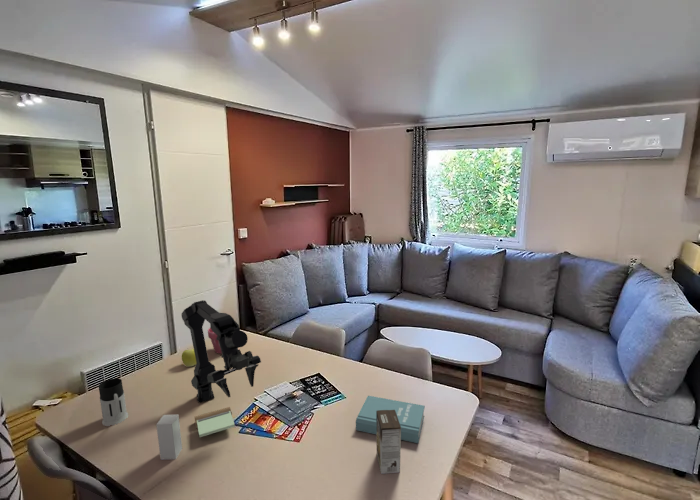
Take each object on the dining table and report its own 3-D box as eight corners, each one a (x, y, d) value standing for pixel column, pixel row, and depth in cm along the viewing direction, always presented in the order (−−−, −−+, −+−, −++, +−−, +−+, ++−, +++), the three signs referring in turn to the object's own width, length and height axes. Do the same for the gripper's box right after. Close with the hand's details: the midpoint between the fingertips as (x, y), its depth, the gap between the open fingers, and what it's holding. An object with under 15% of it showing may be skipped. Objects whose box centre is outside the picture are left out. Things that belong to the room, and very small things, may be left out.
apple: (198, 366, 181) (190, 348, 179) (183, 371, 181) (175, 353, 179) (204, 358, 188) (197, 341, 187) (190, 363, 189) (182, 346, 187)
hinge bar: (195, 422, 140) (194, 416, 139) (230, 412, 146) (229, 406, 145) (196, 428, 136) (195, 422, 136) (232, 418, 142) (231, 412, 142)
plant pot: (204, 355, 195) (202, 332, 192) (218, 343, 208) (216, 322, 206) (229, 356, 192) (227, 334, 190) (241, 345, 206) (240, 323, 204)
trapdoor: (196, 422, 136) (196, 419, 136) (230, 413, 141) (230, 410, 141) (199, 437, 128) (199, 434, 128) (234, 426, 133) (234, 423, 133)
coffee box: (375, 453, 123) (375, 409, 120) (394, 451, 123) (395, 408, 120) (380, 474, 114) (380, 428, 111) (400, 472, 114) (401, 426, 111)
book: (424, 417, 142) (424, 405, 141) (418, 445, 127) (418, 432, 126) (368, 406, 149) (368, 395, 148) (355, 432, 134) (355, 419, 133)
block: (167, 448, 126) (163, 414, 124) (182, 448, 126) (178, 414, 124) (160, 459, 121) (156, 424, 119) (176, 459, 122) (172, 424, 119)
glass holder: (125, 408, 149) (120, 374, 146) (135, 424, 139) (130, 388, 136) (99, 418, 143) (94, 383, 140) (108, 436, 133) (102, 398, 130)
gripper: (214, 356, 122) (226, 403, 120) (262, 339, 135) (274, 380, 134) (201, 359, 130) (213, 403, 128) (248, 342, 143) (259, 381, 141)
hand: (241, 391), depth 132 cm, fingers open, 9 cm apart
